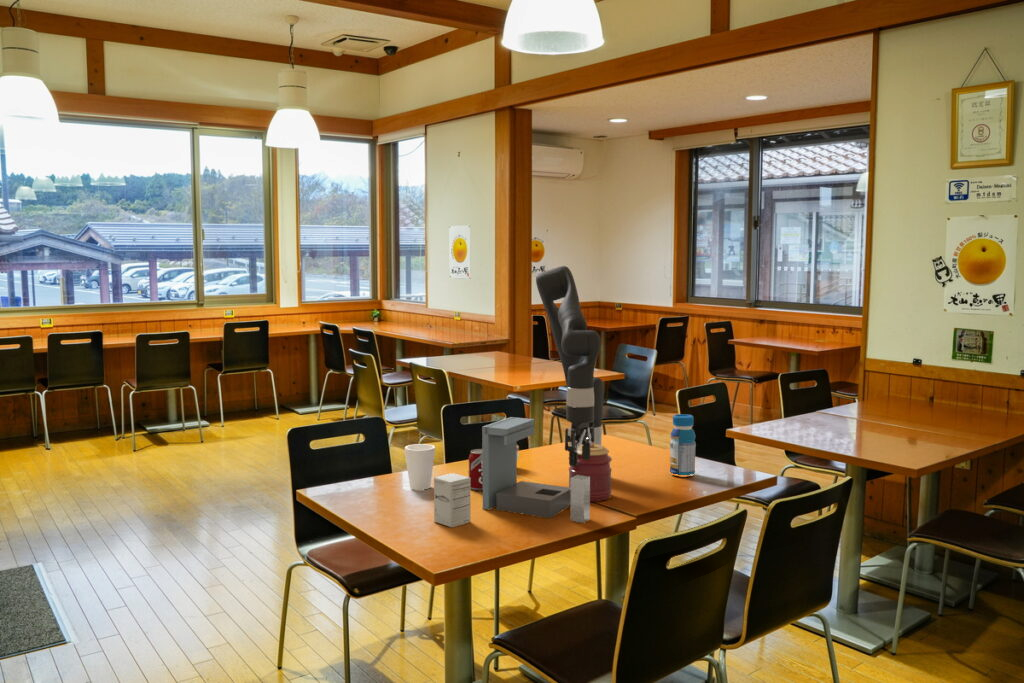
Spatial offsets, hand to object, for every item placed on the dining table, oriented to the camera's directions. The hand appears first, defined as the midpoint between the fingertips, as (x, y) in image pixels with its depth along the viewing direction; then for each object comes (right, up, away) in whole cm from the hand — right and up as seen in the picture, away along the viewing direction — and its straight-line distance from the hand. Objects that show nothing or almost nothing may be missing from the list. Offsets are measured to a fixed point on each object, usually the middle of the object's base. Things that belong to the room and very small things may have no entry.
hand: (579, 462), depth 228 cm
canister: (+5, -14, +25) cm, 29 cm away
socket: (-12, -15, +14) cm, 24 cm away
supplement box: (-35, -17, 0) cm, 38 cm away
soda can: (-29, -13, +34) cm, 47 cm away
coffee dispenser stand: (-19, -15, +18) cm, 30 cm away
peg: (0, -16, +2) cm, 16 cm away
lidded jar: (-21, -11, +60) cm, 65 cm away
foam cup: (-47, -13, +35) cm, 61 cm away
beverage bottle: (+38, -12, +50) cm, 64 cm away
